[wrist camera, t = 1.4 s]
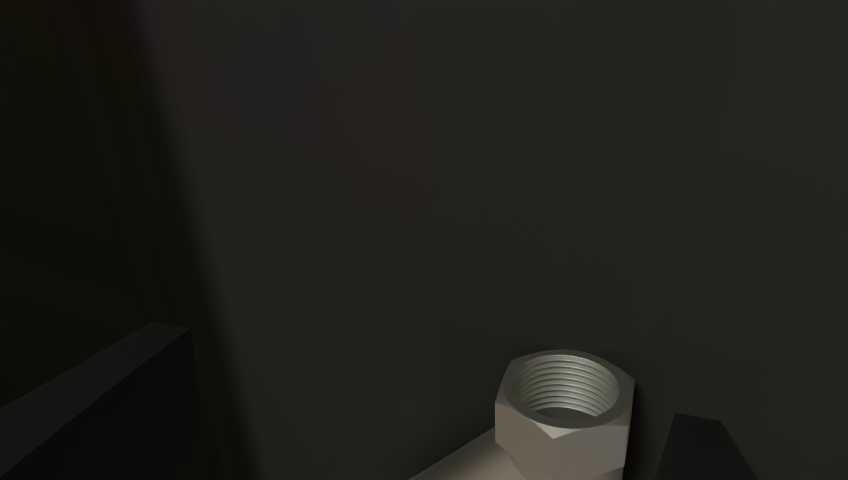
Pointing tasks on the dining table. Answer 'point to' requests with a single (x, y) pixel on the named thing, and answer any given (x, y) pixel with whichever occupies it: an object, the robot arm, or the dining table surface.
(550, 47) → the dining table surface
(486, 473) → the pipe fitting
